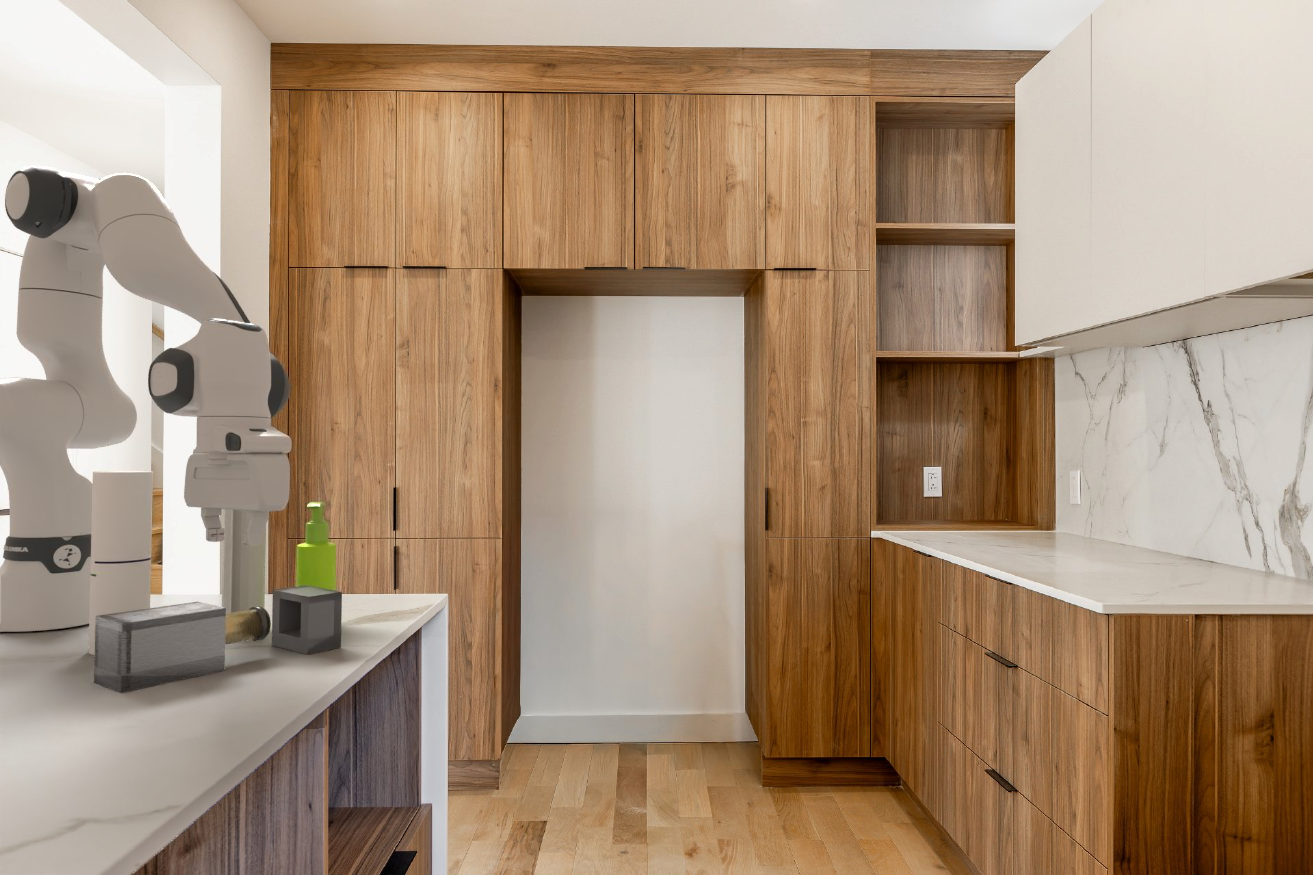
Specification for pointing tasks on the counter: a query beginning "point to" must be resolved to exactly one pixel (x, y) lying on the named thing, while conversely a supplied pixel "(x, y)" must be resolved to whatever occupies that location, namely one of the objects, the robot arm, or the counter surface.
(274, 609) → the dark socket block
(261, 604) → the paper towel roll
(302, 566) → the soap dispenser
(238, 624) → the brass slip tube
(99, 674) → the grey sleeve
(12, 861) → the counter surface
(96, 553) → the cylindrical container
